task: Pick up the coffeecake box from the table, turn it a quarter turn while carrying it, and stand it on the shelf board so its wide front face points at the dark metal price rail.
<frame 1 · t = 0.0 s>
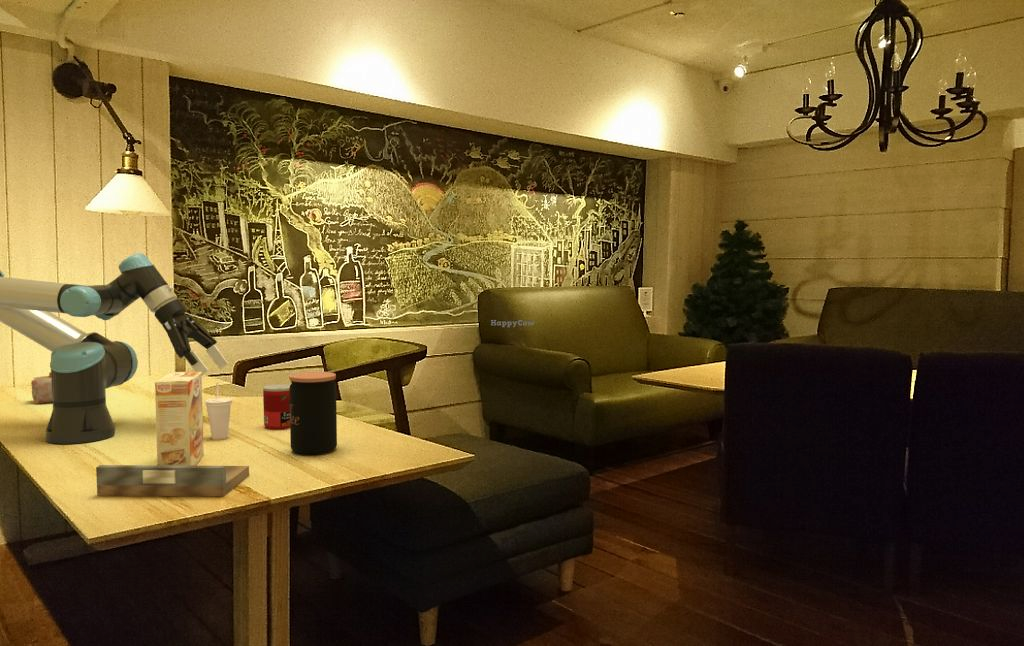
hand: (214, 370, 202), 15 cm above the table, tool tilted 35°, fingers open, 13 cm apart
food item: (57, 402, 238), on the table
canned food: (279, 427, 203), on the table
coffeecake box: (181, 464, 166), on the table
smoothie: (219, 438, 190), on the table
coffee jar: (314, 451, 178), on the table
shelf board: (176, 485, 150), on the table
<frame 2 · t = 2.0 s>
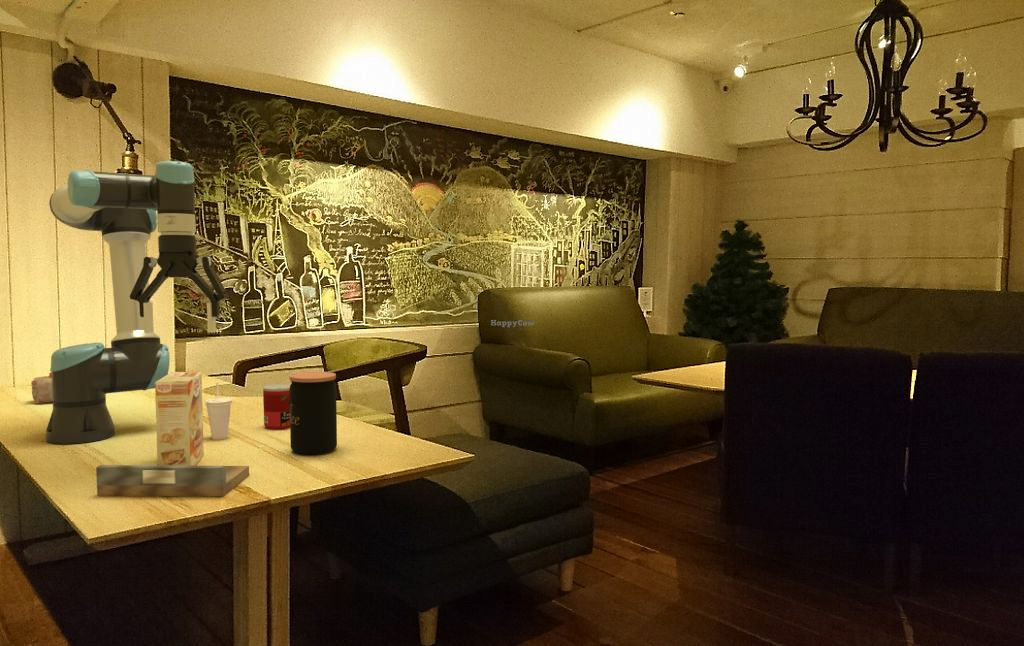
hand: (180, 332, 165), 29 cm above the table, tool pointing down, fingers open, 13 cm apart
nothing on the table moved.
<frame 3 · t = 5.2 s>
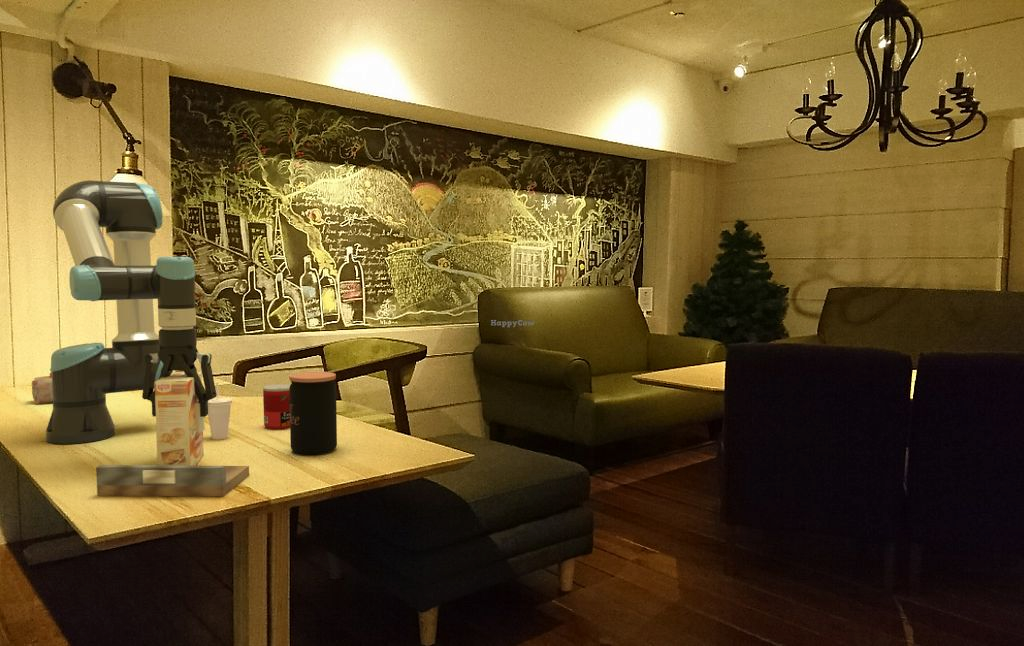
hand: (180, 431, 165), 7 cm above the table, tool pointing down, fingers closed on coffeecake box, 8 cm apart
coffeecake box: (181, 464, 166), on the table, touching gripper
everything else where it was.
when the fingers open (11 cm above the table, at t = 11.9 s): coffeecake box drops 1 cm, resting on shelf board.
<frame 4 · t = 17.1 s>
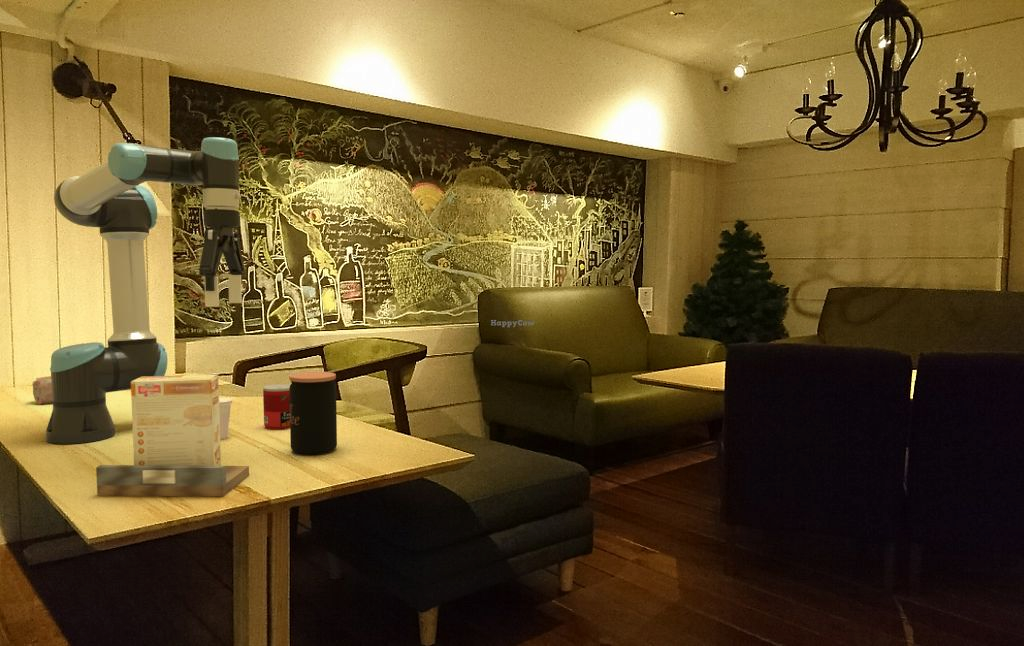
hand: (224, 304, 169), 35 cm above the table, tool pointing down, fingers open, 13 cm apart
coffeecake box: (179, 474, 151), point 2 cm above the table, touching shelf board
at the end: coffeecake box inside the target area on the shelf board (0.4 cm from its centre), point 1.8 cm above the shelf board's base; coffeecake box tilted 0°; the gripper is holding nothing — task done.
